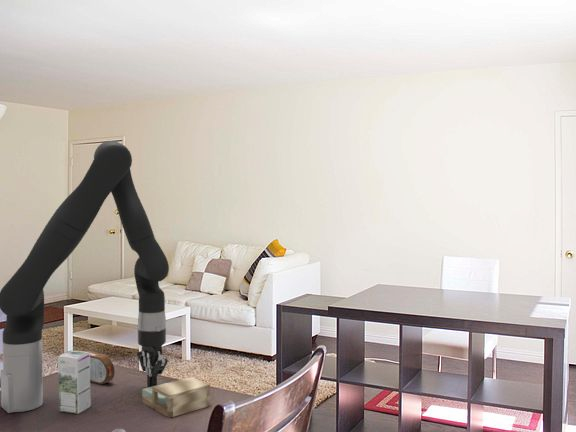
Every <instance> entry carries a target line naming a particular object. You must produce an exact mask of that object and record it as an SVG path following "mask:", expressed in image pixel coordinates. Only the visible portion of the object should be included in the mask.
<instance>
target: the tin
mask: <svg viewBox="0 0 576 432" xmlns="http://www.w3.org/2000/svg"><path fill="white" fill-rule="evenodd" d="M82 352H90V383H91V382H92V383H94V384H97V385H104V384H106V383H109V382H111V381H113V379H114V377H115V373H116V372H115V366H114V363H113V361H112V359H111V358H110V357H109V356H108V355H107V354H104V353H100V352H96V351H92V350H89V349H88V350H84V351H82Z"/></svg>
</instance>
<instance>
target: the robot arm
mask: <svg viewBox="0 0 576 432" xmlns="http://www.w3.org/2000/svg"><path fill="white" fill-rule="evenodd" d="M132 157H133V156H132V154H131V152H130V150H129V149H128V147H127V146H125V145H124V144H123V143H121V142H119V141H115V140H107V141H105V142H102V143H101V144H99V145H98V146H97V148H96V149H95V150H94V154H93V160H92V163H91V164H90V166H89V168H88V169H87V171H86V173H85V174H84V177H83V179H82V180H81V181H80V183H79V184H78V186H77V187H76V188H75V189H74V190H73V191H72V192H71V193H70V194H69V195H68V196H67V197H66V198H65V199H64V200H63V201H62V203H61V204H60V205H59V206H58V207H57V209H56V210H55V212H54V213H53V214H52V216H51V218H49V220H48V222H47V223H46V225H45V227H43V229H42V232H41V233H40V235H38V238H37V239H36V241H35V243H34V245H33V246H32V248H31V250H30V251H29V253H28V256H27V257H26V259H25V260H24V262H22V264H21V265H20V267H18V269H17V270H16V272H15V273H14V274H13V275H12V276H11V278H10V279H9V280H8V281H7V282H6V283H5V284H4V285H3V287H2V288H1V289H0V311H1V312H2V313H3V314H5V315H6V320H5V325H4V327H3V331H2V370H0V407H1V408H2V409H3V410H4V411H6V413H8V414H11V413H22V412H23V413H24V412H28V411H31V410H36V409H38V408H39V407H42V405H43V404H44V400H43V397H44V393H43V391H44V389H43V388H44V387H43V329H44V323H45V292H44V288H45V286H46V285H47V283H48V282H49V280H50V278H51V277H52V275H53V274H54V273H55V271H56V270H57V269H58V268H59V267H60V266H61V265H62V264H63V263H64V262H65V261H66V260H67V259H68V257H70V255H71V254H72V253H73V251H74V250H75V249H76V248H77V246H78V245H79V244H80V243H81V242H82V240H83V238H84V237H85V235H86V234H87V232H88V230H89V228H91V225H92V224H93V222H94V220H95V219H96V218H97V215H98V214H99V212H100V210H101V208H102V206H103V205H104V203H105V201H106V199H107V198H108V196H109V195H110V194H111V195H112V198H113V200H114V203H115V205H116V209H117V212H118V215H119V220H120V223H121V225H122V228H123V231H124V234H125V237H126V240H127V242H128V245H129V248H130V249H131V250H132V251H133V252H134V253H136V254H137V256H138V258H137V260H136V261H135V262H134V263H135V264H134V269H133V271H134V274H133V275H134V280H135V284H136V285H135V286H136V289H137V292H138V293H137V294H138V317H137V344H138V346H140V347H141V351H136V355H137V357H138V361H139V364H140V367H141V370H142V371H143V372H145V375H146V378H147V379H146V380H147V381H146V388H148V387H152V386H156V385H158V376H159V375H162V374H163V372H164V370H165V368H166V367H167V365H168V359H167V358H164V357H163V345H165V344H166V342H167V341H166V339H167V333H166V331H167V327H166V326H167V325H166V323H167V320H166V319H167V318H166V308H165V307H166V305H165V304H166V301H165V299H166V297H165V292H164V290H163V289H161V287H160V283H159V282H162V281H163V280H165V279H167V277H168V275H169V269H170V267H169V262H168V258H167V256H166V255H165V253H164V251H163V249H162V248H161V246H160V244H159V242H158V241H157V239H156V237H155V234H154V231H153V228H152V226H151V222H150V220H149V218H148V215H147V212H146V210H145V209H144V206H143V204H142V202H141V199H140V197H139V195H138V192H137V190H136V187H135V183H134V181H133V175H132V171H131V167H132V164H133V163H132V162H133V158H132Z"/></svg>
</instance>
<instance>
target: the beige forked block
mask: <svg viewBox="0 0 576 432" xmlns="http://www.w3.org/2000/svg"><path fill="white" fill-rule="evenodd" d="M165 383H166V384H164V383H161V384H162V385H160V384H157V385H158V386H154V387H152V399H150V398H148V397H142V403H143V404H144V405H145V406H148V407H149V408H151V409H153V410H154V409H155V410H154V411H156V412H158V413H160V414H161V415H163V416H165V417H167V418H169V419H171V418H173V417H177V416H180V415H181V416H182V415H185V414H188V413H190V412H193V411H194V412H195V411H197V410H201V409H204V408H208V407H210V406H211V402H210V401H211V385H210V383H207V382H204V381H202V380H200V379H197V378H196V377H193V376H191V377H186V378H182V379H178V380H174V381H170V382H165ZM158 393H159V394H161V395H163V396H165V397H167V407H165V406H163V405H161V404H159V403H158Z"/></svg>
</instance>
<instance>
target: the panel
mask: <svg viewBox="0 0 576 432" xmlns="http://www.w3.org/2000/svg"><path fill="white" fill-rule="evenodd" d="M166 383H167V382H164V383H161V384H157V385H156V386H158V385H162V384H166ZM152 387H154V386H152ZM152 387H148V388H147V387H145V388H142V389H141V393H142V394H141V396H142V397H141V398H143V397H148V398H150V399H152ZM158 403H159V404H161V405H163V406H165V407H167V397H165V396H163V395H161V394H159V393H158Z"/></svg>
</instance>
